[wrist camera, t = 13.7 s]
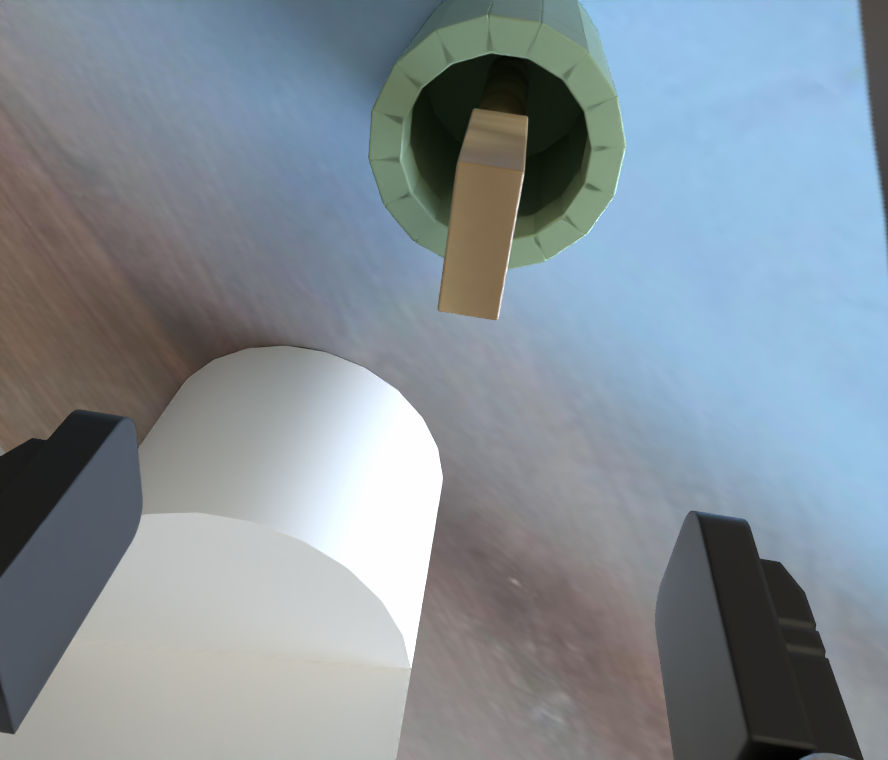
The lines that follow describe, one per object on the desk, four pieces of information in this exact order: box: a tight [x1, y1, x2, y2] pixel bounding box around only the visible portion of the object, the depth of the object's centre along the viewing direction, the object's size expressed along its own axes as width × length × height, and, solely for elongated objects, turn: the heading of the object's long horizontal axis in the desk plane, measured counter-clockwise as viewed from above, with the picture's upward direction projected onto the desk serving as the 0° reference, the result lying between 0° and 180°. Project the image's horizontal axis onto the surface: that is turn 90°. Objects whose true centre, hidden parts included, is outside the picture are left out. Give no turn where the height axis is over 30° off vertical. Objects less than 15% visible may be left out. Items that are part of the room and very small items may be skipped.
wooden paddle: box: [438, 55, 529, 320], centre depth 28 cm, size 2×4×19 cm, turn 173°
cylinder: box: [0, 346, 443, 760], centre depth 38 cm, size 17×17×28 cm
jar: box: [369, 0, 626, 270], centre depth 32 cm, size 8×8×12 cm
